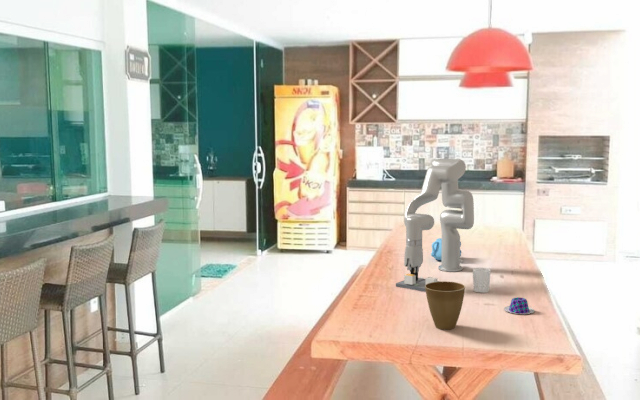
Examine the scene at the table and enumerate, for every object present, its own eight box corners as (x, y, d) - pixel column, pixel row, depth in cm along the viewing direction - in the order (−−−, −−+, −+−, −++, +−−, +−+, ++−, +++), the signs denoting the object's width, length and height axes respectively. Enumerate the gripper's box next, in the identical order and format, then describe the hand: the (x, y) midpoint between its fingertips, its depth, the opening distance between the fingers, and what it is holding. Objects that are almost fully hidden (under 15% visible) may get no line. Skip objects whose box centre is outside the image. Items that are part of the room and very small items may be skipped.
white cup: (477, 293, 287) (478, 272, 285) (469, 289, 294) (469, 268, 293) (493, 292, 289) (493, 270, 287) (484, 288, 296) (484, 267, 295)
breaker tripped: (407, 282, 301) (407, 273, 300) (415, 283, 298) (415, 274, 298) (404, 283, 299) (404, 274, 298) (412, 284, 296) (412, 275, 295)
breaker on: (428, 285, 295) (428, 276, 294) (437, 286, 292) (437, 278, 291) (425, 286, 292) (425, 278, 292) (433, 288, 289) (434, 279, 289)
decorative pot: (464, 258, 360) (465, 235, 359) (455, 264, 346) (456, 239, 345) (437, 256, 368) (437, 233, 367) (427, 261, 355) (427, 237, 353)
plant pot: (458, 320, 249) (459, 280, 247) (469, 332, 234) (469, 290, 232) (421, 321, 248) (421, 281, 246) (429, 333, 234) (429, 291, 232)
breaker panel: (413, 279, 313) (413, 276, 313) (457, 287, 298) (457, 283, 298) (395, 286, 301) (395, 282, 301) (440, 294, 286) (440, 291, 286)
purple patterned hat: (517, 305, 269) (518, 293, 268) (540, 312, 258) (541, 300, 258) (497, 310, 262) (498, 297, 262) (520, 317, 252) (520, 304, 252)
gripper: (415, 239, 307) (415, 276, 309) (398, 244, 295) (399, 282, 298) (429, 240, 302) (429, 278, 304) (412, 246, 291) (412, 285, 293)
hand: (414, 280), depth 301 cm, fingers closed
